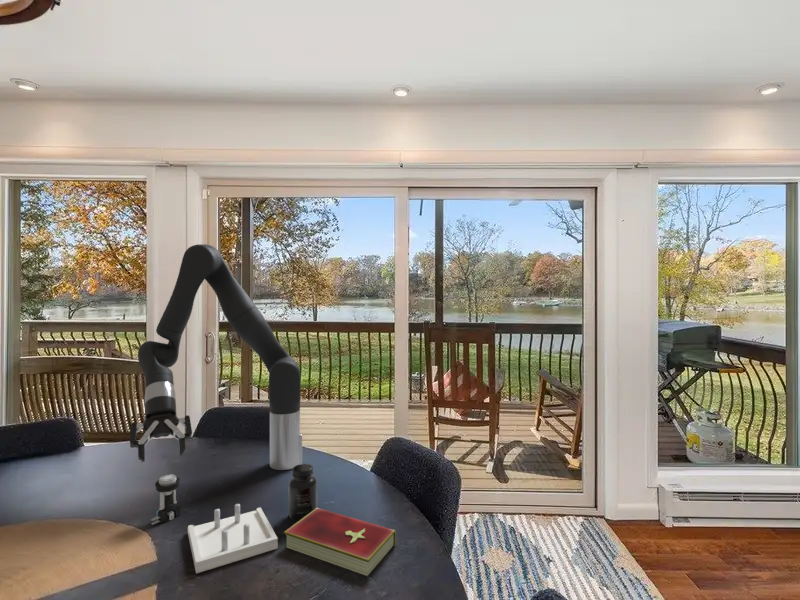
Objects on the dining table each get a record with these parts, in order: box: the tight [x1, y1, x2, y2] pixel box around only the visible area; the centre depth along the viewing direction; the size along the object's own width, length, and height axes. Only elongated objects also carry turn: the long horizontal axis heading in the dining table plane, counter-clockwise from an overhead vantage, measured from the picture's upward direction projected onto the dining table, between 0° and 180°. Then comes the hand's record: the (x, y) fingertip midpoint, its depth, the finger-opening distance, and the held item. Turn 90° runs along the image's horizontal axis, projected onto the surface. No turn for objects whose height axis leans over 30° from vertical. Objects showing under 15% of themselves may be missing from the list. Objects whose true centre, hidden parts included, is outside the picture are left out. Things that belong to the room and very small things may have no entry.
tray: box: [187, 503, 279, 574], centre depth 96 cm, size 16×16×5 cm
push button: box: [150, 473, 181, 525], centre depth 104 cm, size 7×5×10 cm
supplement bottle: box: [288, 463, 318, 523], centre depth 106 cm, size 7×7×12 cm
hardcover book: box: [283, 507, 397, 577], centre depth 94 cm, size 12×21×4 cm, turn 64°
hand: (162, 457), depth 111 cm, fingers open, 8 cm apart
